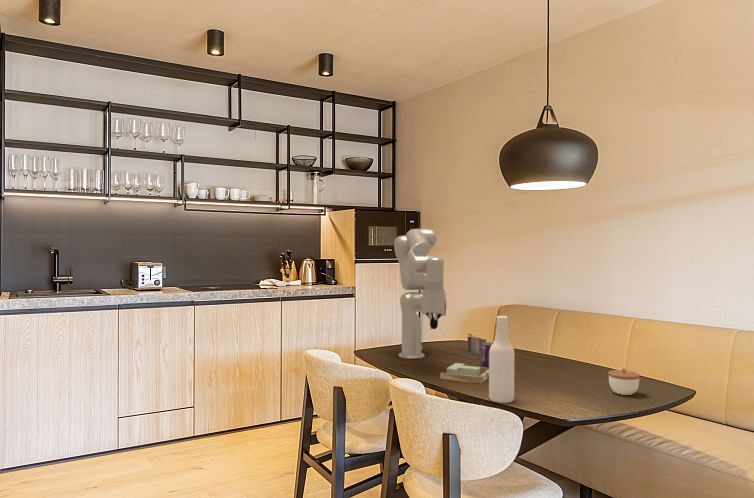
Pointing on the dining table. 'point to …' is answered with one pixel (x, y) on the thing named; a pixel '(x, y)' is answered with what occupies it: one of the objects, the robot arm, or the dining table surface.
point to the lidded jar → (624, 381)
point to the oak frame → (467, 376)
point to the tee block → (463, 370)
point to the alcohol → (501, 365)
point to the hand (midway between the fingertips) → (433, 328)
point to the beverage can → (484, 354)
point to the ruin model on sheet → (475, 343)
